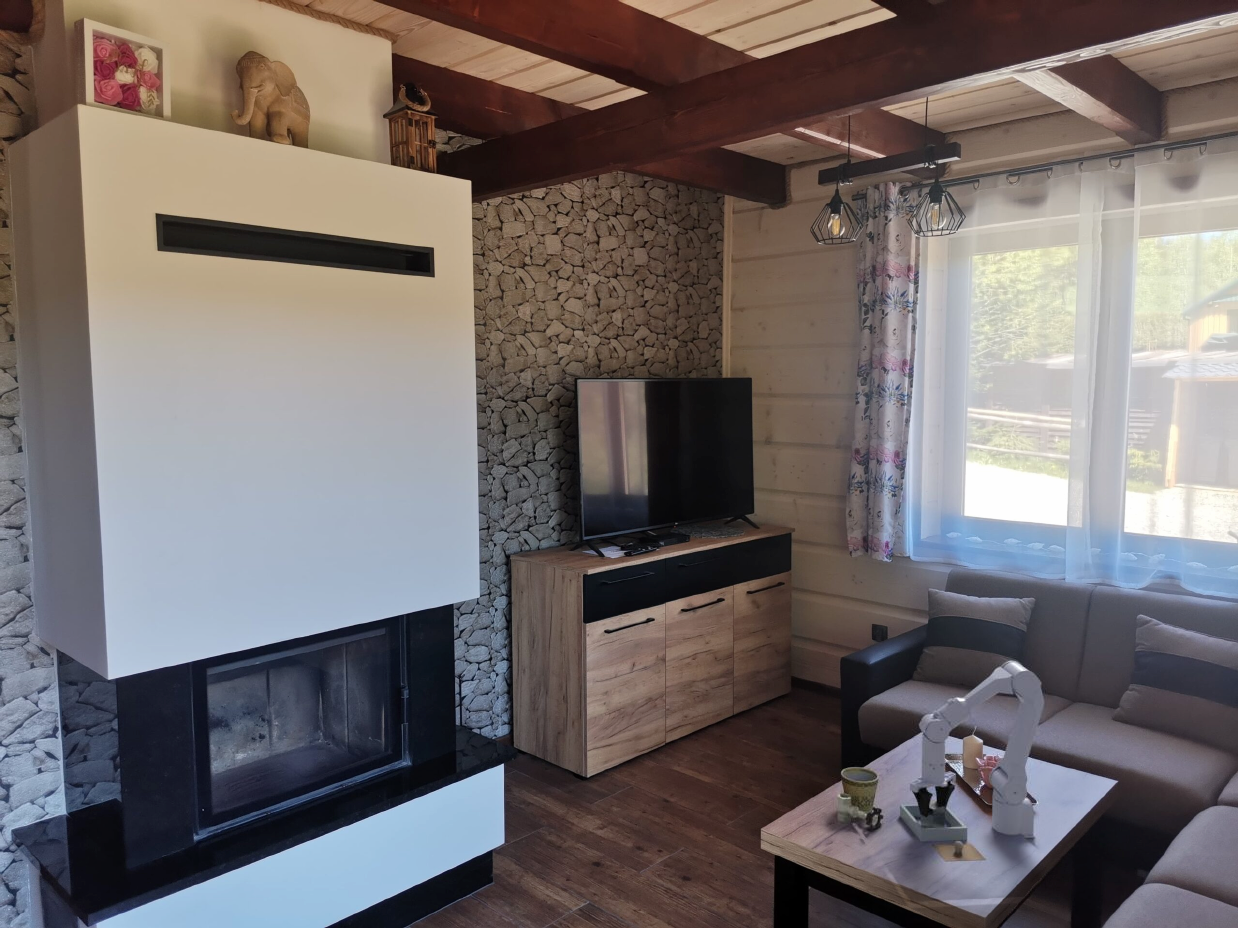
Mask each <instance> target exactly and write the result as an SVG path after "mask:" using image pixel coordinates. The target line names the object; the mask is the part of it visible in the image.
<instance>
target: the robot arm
mask: <svg viewBox="0 0 1238 928" xmlns="http://www.w3.org/2000/svg"><path fill="white" fill-rule="evenodd" d="M997 694H1007V695H1014V694H1015V695H1016V697H1017V698H1018V700H1019V706H1018V708H1017V712H1016V715H1015V719H1014V722H1013V724H1012V728H1011V732H1010V735H1009V738H1008V741H1007V745H1006V749H1005V752H1004V754H1003V757H1002V758H1001V759H999V760H997V762H996V765H995V767H994V768H992V770H991V771H990V773H989V777H988V779H989V783H990V785H991V786H992V787H993V792H992V809H991V811H992V812H991V815H992V817H991V818H992V819H991V820H992V821H991V826H992V829H993V830H994V831H996V832H997V833H1000V834H1003V835H1009V836H1016V835H1017V836H1018V835H1021V836H1023V838H1025V839H1035V838H1036V835H1035V834H1034V831H1035V830H1034V827H1035V826H1034V825H1035V823H1034V822H1035V818H1034V817H1035V816H1034V814H1035V812H1034V807H1033V806H1034V805H1033V803H1032V802H1031V800H1030V799H1029V798H1028V797H1027V795H1028V789H1027V782H1028V775H1027V771H1026V770H1027V769H1026V765H1027V762H1028V759H1029V756H1030V753H1031V750H1032V745H1033V742H1034V739H1035V736H1036V732H1037V728H1038V726H1039V723H1040V719H1041V716H1042V713H1043V710H1044V706H1045V698H1044V696H1043V695H1044V694H1043V691H1042V682H1041V680H1040V678H1038V676H1037V675H1036V674H1035V673H1034V672H1033V671H1030V670H1029V669H1027V668H1026V667H1024V665H1022V664H1021V663H1020V662H1018V661H1015V660H1009V661H1005V662H1004V663H1003V664H1002V665H1001V666H998V667H997V668H995V669H994V671H993V672H992V673H991V674H990V676H989V677H987V678H985V679H984V680H983V681H982V682H981V683H979V684H978V685H977V686H976V687H974V689H972V690H970V691H969V693H967V694H966V695H965V696H964V697H954V698H951V697H950V698H949V699H948V700H947V701H946V702H947V703H945V704H944V705H943V706H941V707H939V708H938V709H937V710H933V711H932V713H931V714H930V713H927V714H925V715H924V716H922V718H921V720H920V722H919V723H918V726H919V729H920V731H921V732H922V735H921V736H922V737H921V738H922V739H921V741H922V743H921V775H920V776H919V777H917V779H915V780H914V781H911V782H909V790H910V791H912V794H913V796H914V797H915V800H916V804H918V806H919V810H920V814H921V815H923V816H925V817H928V815H929V805H930V801H931V800H932V797H933V795H934V794H933V793H932V792H930V791H929V790H928V789H929V788H931V787H934V789H935V795H936V802H938V803H940V804H942V805H944V806H945V810H946V807H948V803H949V801H950V798H951V796H952V794H953V792H954V791H955V790H956V789H955V788H956V785H955V784H953V783H954V782H957V781H956V780H957V773H954V772H952V771H947V772H946V740H947V739H948V738H949V736H950V732H952V730H953V729H955V728H956V727H958V726H959V725H960V724H962V723H964V722H965V721H966V720H967V719H969V718H970V717H971V716H972V712H973V709H975V708H976V707H978V706H979V705H981V704H984V702H986V701H987V700H989V699H991V698H992V697H994V696H996V695H997Z"/></svg>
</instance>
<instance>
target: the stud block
mask: <svg viewBox="0 0 1238 928" xmlns="http://www.w3.org/2000/svg"><path fill="white" fill-rule="evenodd" d="M932 847H933V848H934V849H935V850H936V852H937V853H938V854H939V855H940V857H941V858H942V859H943V860H944V861H945V862H962V861H963V862H964V861H986V860H987V859H986V858H985V857H984V855H983V854H981V852H980V851H978V849H977V848H976V847H975V846H974V845H973V844H972V843H971V842H970V843H969V842H968V843H963V842H962V841H961V840H955V842H954V843H948V844H947V843H945V844H944V843H941V844H932Z"/></svg>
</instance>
